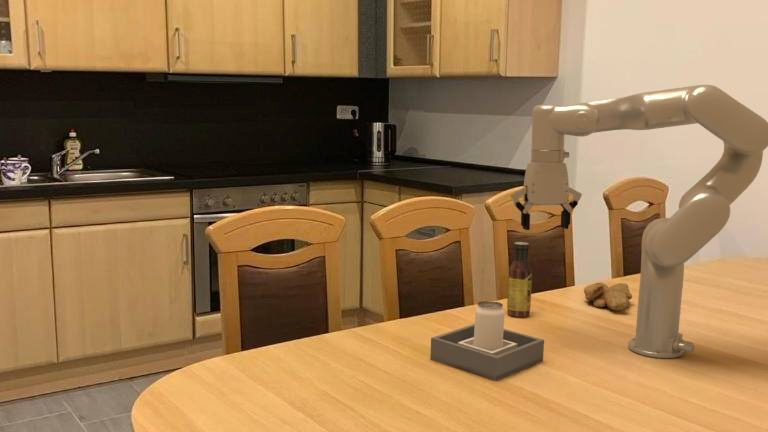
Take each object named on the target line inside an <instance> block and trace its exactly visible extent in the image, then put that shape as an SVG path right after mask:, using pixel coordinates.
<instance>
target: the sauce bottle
mask: <svg viewBox="0 0 768 432" xmlns="http://www.w3.org/2000/svg"><path fill="white" fill-rule="evenodd" d="M529 249H530V243H529V242H523V241H516V242H514V243H513V250H514V253H513V261H512V262H511V264H510V266H509V268H508V278H507V282H508V283H507V300H506V301H507V304H506V306H507V307H506V309H507V315H508V316H510V317H513V318H526V317H529V316H530V315H531V314H530V313H531V305H532V304H531V302H532V300H531V299H532V279H533V271H532V268H531V265H530V261H529Z"/></svg>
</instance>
